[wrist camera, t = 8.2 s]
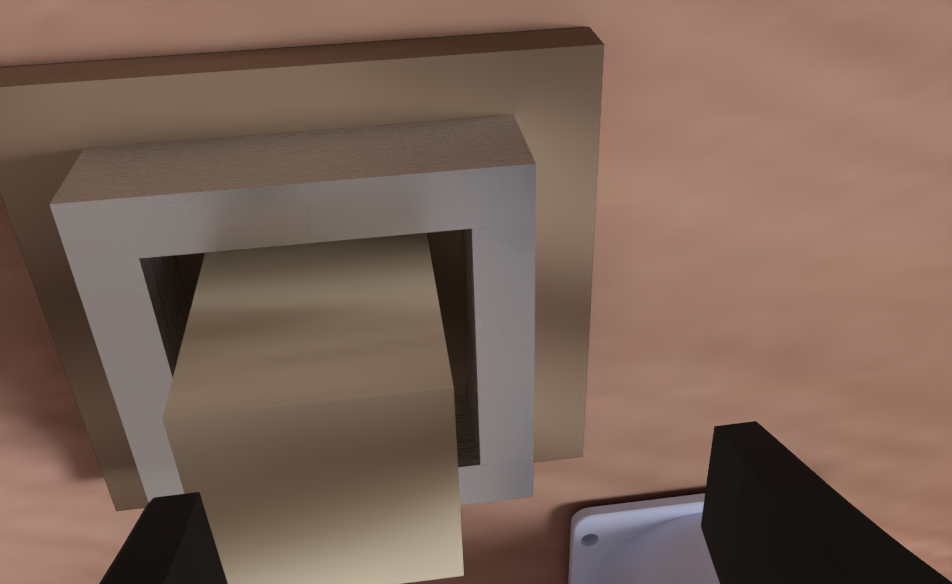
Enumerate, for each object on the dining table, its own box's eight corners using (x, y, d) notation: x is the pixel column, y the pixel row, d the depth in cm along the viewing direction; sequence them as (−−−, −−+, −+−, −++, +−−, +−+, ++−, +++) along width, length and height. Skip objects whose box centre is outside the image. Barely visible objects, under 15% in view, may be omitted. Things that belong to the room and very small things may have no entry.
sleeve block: (433, 373, 21) (463, 575, 16) (247, 392, 20) (217, 606, 15) (422, 210, 18) (454, 388, 13) (211, 227, 18) (162, 418, 13)
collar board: (572, 426, 24) (606, 526, 21) (125, 477, 23) (93, 589, 20) (589, 26, 18) (639, 85, 15) (-15, 68, 17) (-92, 141, 14)
